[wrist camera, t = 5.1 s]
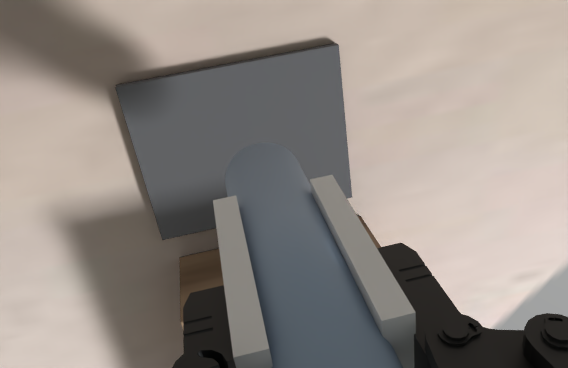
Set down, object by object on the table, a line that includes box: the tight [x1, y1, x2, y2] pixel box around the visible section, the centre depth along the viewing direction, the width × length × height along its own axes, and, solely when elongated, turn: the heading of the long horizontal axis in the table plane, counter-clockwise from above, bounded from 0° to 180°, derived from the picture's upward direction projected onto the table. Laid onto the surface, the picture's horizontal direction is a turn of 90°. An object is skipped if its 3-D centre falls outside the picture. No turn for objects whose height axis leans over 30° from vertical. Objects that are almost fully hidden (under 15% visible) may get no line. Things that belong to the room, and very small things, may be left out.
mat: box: [115, 43, 352, 240], centre depth 24 cm, size 8×10×1 cm
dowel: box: [225, 143, 403, 368], centre depth 15 cm, size 3×3×11 cm
